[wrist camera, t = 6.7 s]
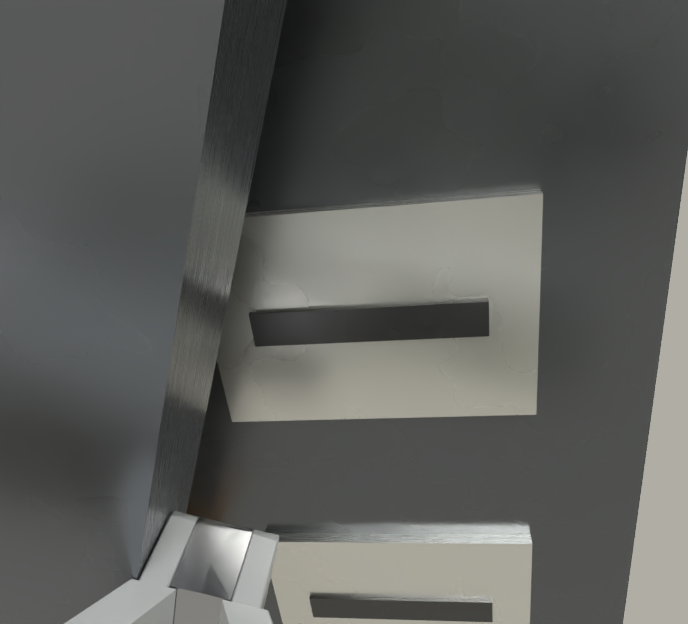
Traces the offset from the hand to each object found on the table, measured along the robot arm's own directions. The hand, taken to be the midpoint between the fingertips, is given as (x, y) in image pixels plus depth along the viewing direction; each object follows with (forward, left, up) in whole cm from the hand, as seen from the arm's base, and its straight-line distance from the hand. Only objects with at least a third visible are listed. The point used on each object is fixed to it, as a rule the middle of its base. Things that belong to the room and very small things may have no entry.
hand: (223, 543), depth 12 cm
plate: (-3, +1, -4) cm, 5 cm away
